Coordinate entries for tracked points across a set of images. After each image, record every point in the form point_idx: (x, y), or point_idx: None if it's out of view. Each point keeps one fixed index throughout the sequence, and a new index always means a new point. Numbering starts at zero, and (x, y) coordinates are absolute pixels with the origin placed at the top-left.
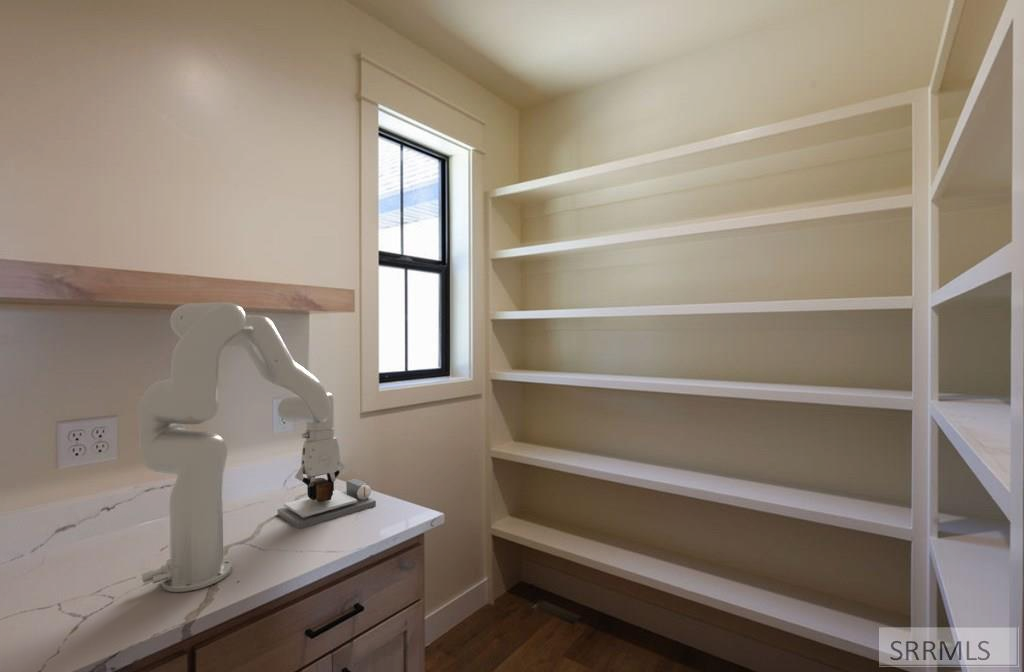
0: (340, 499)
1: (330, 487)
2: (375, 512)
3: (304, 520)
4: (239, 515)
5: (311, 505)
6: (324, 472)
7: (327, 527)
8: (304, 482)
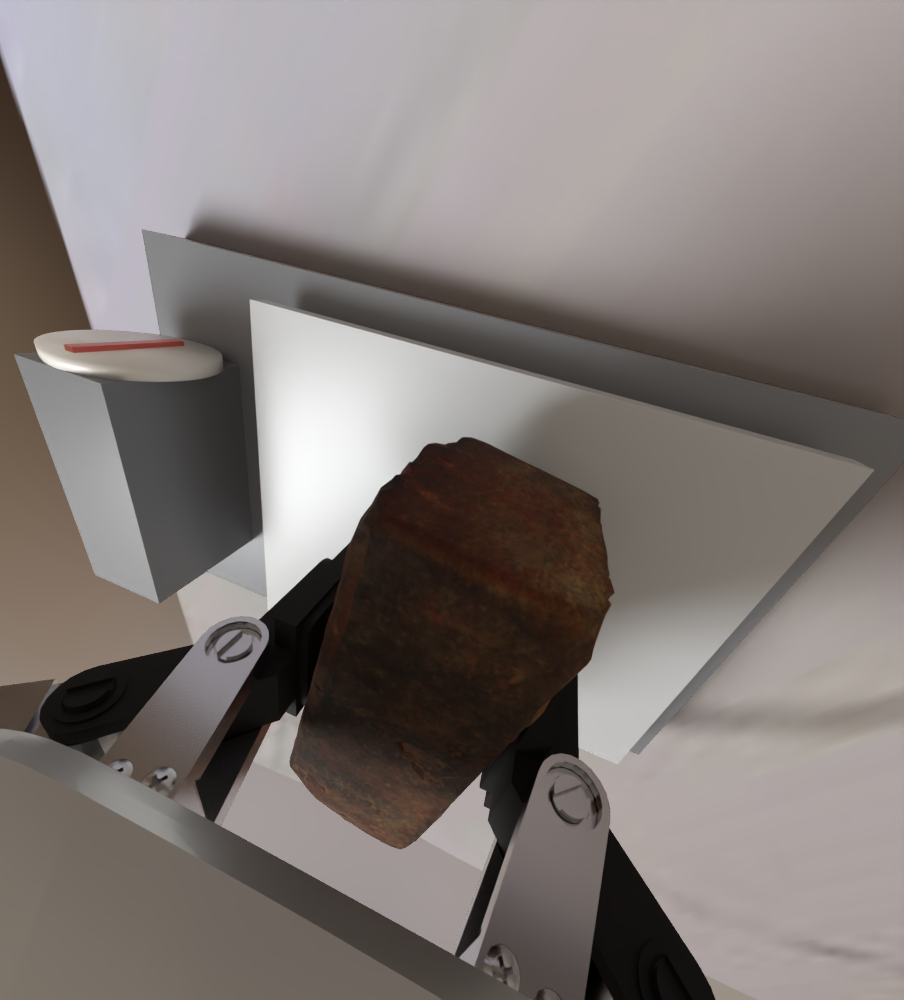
0: (344, 456)
1: (416, 502)
2: (242, 61)
3: (826, 438)
4: (716, 857)
5: None
6: (265, 969)
7: (774, 145)
8: (683, 944)
